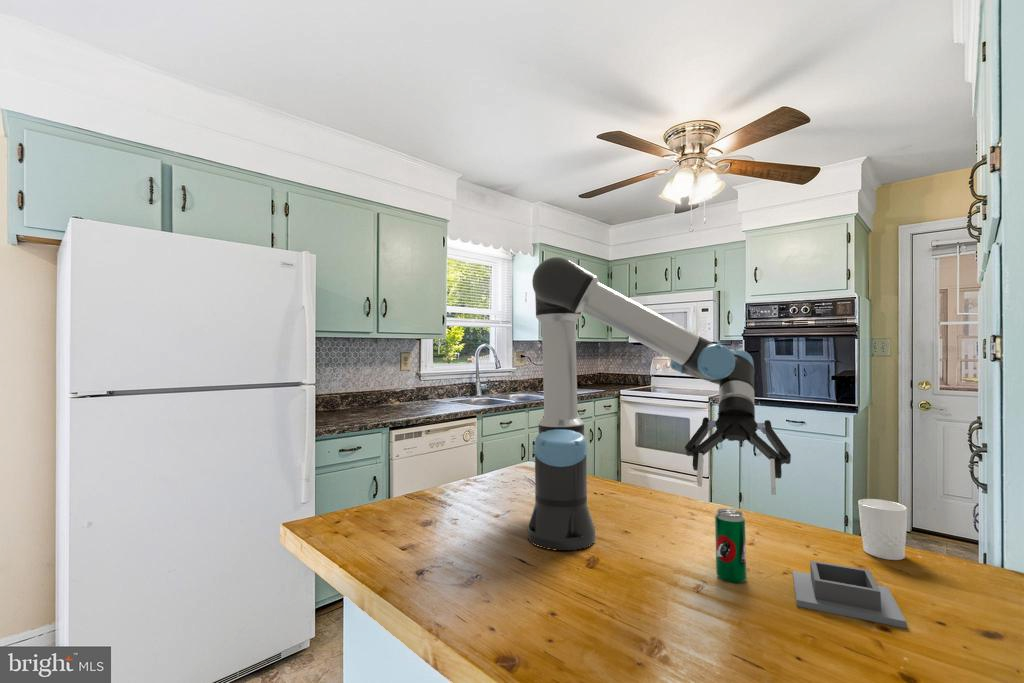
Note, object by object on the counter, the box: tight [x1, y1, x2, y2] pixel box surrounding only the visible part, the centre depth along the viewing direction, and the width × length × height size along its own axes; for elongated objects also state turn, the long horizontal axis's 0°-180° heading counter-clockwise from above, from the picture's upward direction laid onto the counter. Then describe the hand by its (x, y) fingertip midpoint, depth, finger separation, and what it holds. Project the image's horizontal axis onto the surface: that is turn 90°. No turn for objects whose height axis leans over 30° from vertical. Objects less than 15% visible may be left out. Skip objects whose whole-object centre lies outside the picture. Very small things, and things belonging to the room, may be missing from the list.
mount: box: [792, 560, 907, 629], centre depth 79 cm, size 14×12×4 cm
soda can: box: [714, 507, 748, 584], centre depth 87 cm, size 5×5×12 cm
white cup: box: [857, 498, 908, 561], centre depth 98 cm, size 8×8×10 cm
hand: (735, 487), depth 96 cm, fingers open, 13 cm apart
